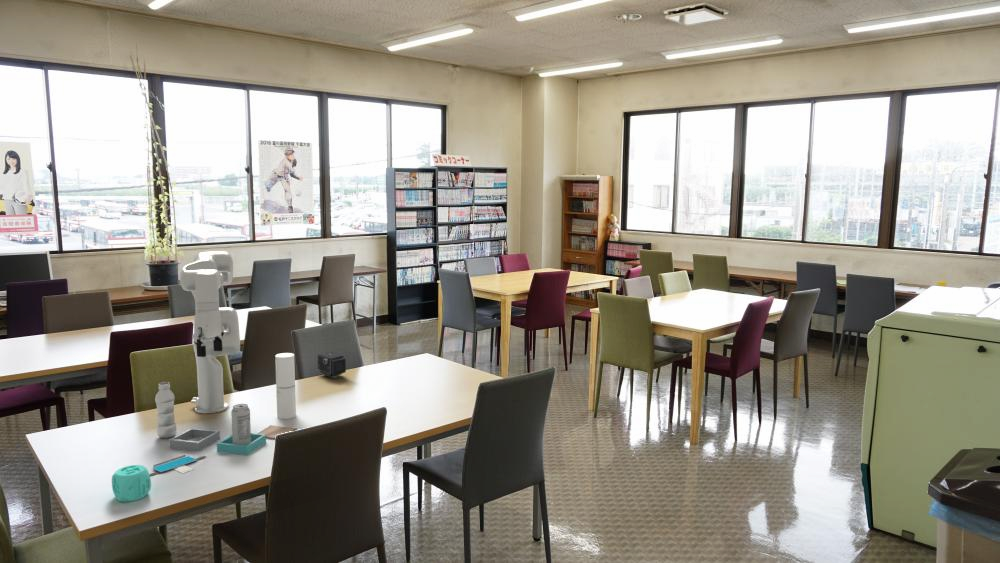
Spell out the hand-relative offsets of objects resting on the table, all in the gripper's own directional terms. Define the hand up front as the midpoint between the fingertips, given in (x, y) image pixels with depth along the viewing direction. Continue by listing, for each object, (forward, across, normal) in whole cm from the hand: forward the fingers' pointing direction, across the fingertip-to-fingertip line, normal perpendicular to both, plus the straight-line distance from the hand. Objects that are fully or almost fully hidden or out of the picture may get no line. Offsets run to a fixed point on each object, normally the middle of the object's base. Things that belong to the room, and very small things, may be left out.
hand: (210, 353), depth 239 cm
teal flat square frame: (+31, +7, +15) cm, 36 cm away
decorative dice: (+32, +47, +5) cm, 58 cm away
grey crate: (+31, +7, -3) cm, 32 cm away
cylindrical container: (+31, -26, +14) cm, 43 cm away
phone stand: (+32, +26, +5) cm, 42 cm away
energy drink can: (+32, +7, +15) cm, 36 cm away
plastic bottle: (+31, +4, -17) cm, 35 cm away
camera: (+29, -84, +8) cm, 89 cm away
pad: (+31, -8, +20) cm, 38 cm away
